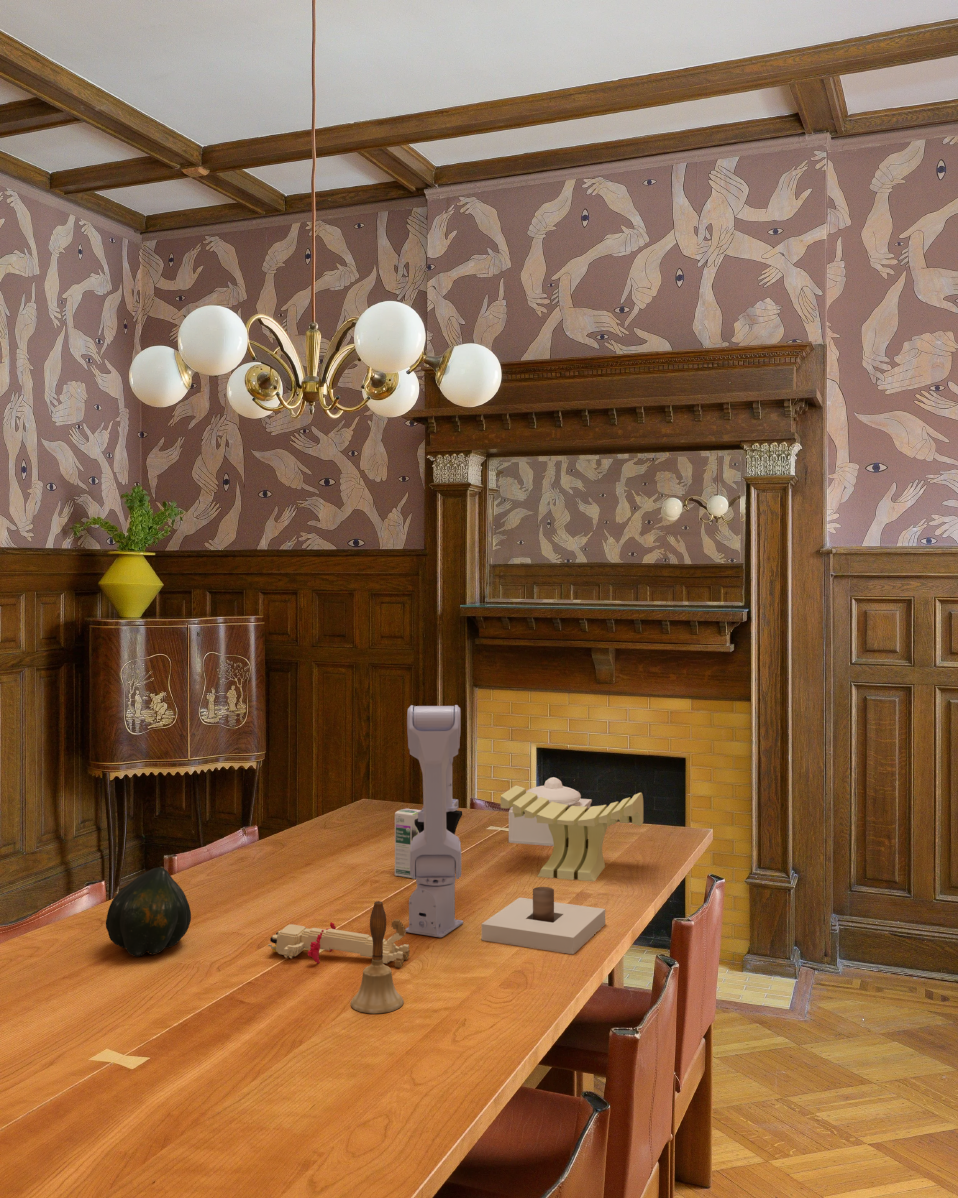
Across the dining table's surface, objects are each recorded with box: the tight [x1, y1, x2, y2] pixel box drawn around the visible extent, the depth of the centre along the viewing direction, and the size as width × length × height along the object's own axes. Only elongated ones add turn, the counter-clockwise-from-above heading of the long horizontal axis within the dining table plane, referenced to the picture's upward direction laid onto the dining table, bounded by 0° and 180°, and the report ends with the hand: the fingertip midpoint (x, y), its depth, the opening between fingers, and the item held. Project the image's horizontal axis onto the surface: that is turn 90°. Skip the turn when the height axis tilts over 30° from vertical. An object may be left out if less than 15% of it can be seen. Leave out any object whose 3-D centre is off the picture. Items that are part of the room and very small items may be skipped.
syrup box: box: [394, 808, 422, 879], centre depth 236 cm, size 6×6×14 cm
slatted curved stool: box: [500, 785, 644, 882], centre depth 240 cm, size 30×16×18 cm, turn 73°
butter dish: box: [508, 776, 593, 847], centre depth 271 cm, size 18×18×16 cm
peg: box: [532, 886, 555, 923], centre depth 197 cm, size 4×4×8 cm
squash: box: [105, 866, 192, 958], centre depth 189 cm, size 14×15×15 cm
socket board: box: [480, 897, 606, 955], centre depth 197 cm, size 18×18×3 cm
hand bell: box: [350, 900, 405, 1015], centre depth 163 cm, size 8×8×16 cm
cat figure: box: [267, 918, 410, 969], centre depth 184 cm, size 10×9×25 cm
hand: (438, 849), depth 217 cm, fingers open, 7 cm apart
